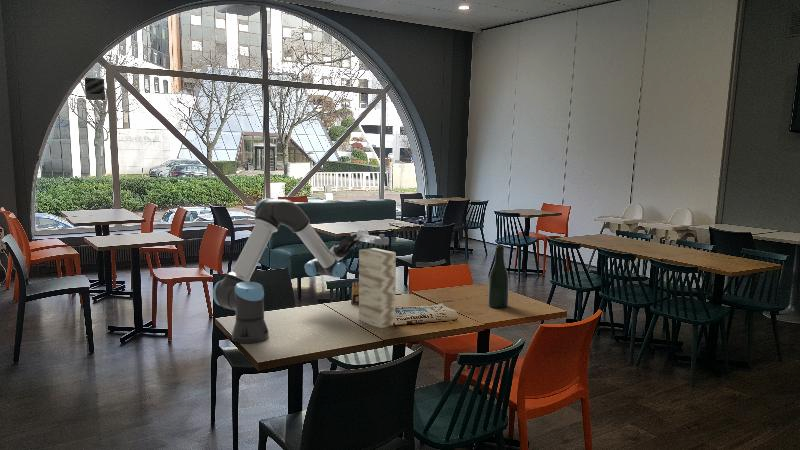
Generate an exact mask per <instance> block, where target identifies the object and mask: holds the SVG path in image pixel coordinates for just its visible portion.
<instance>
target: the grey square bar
mask: <svg viewBox="0 0 800 450" xmlns="http://www.w3.org/2000/svg"><path fill="white" fill-rule="evenodd" d="M355 233H356V232H351V233H350V236H353V235H354V234H355ZM353 240H354V239H353ZM357 240H358V241H363V242H362V243H364V242H365V243H367V244H374V245H375V246H389V244H390V243H389V242H390V241H389V240H390V239H389V237H388V236H387V237H386V236H385V233H380V234H378V236H377V235H371V234H369V235H367V234H362V236H360V237H359V238H358V239H357Z"/></svg>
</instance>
